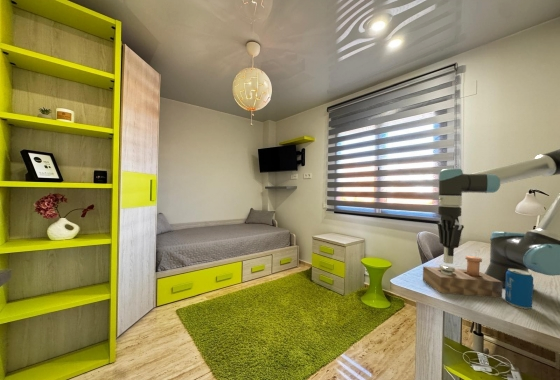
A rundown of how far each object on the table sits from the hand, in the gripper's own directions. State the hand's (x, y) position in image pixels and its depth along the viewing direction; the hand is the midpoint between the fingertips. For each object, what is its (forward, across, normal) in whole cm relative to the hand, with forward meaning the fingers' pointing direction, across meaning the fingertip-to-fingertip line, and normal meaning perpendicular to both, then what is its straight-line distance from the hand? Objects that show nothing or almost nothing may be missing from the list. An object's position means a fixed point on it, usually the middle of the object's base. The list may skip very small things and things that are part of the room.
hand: (448, 262), depth 89 cm
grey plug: (+9, 0, 0) cm, 9 cm away
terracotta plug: (+4, 0, +10) cm, 10 cm away
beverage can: (+11, +11, +16) cm, 22 cm away
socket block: (+10, 0, +4) cm, 11 cm away
